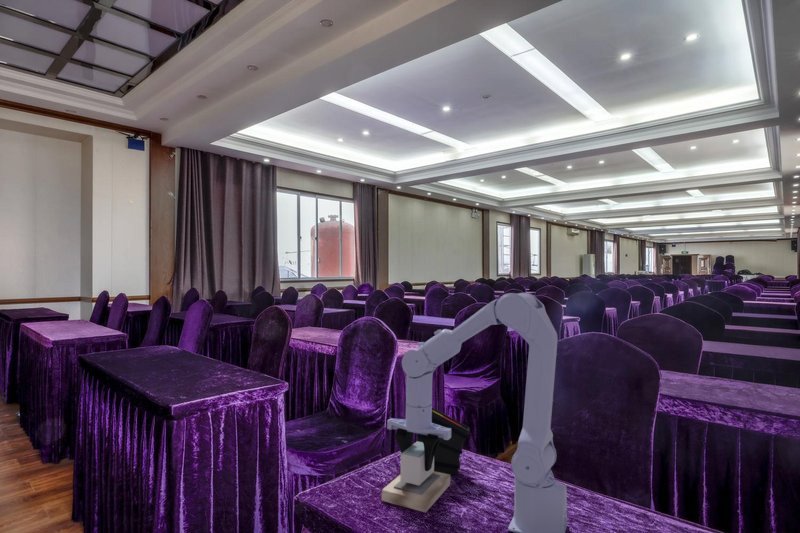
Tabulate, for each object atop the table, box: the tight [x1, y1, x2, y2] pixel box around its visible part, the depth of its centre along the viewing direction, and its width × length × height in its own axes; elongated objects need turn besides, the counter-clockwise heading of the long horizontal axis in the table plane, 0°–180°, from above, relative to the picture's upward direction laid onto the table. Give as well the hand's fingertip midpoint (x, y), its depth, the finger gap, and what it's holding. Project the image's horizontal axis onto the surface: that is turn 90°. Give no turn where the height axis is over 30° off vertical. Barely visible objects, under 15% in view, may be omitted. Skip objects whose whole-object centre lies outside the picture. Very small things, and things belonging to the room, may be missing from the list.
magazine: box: [416, 407, 470, 475], centre depth 109 cm, size 4×13×15 cm, turn 83°
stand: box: [381, 471, 451, 513], centre depth 97 cm, size 10×14×2 cm
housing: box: [399, 440, 434, 485], centre depth 98 cm, size 8×4×6 cm, turn 153°
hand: (417, 467), depth 98 cm, fingers closed on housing, 4 cm apart
